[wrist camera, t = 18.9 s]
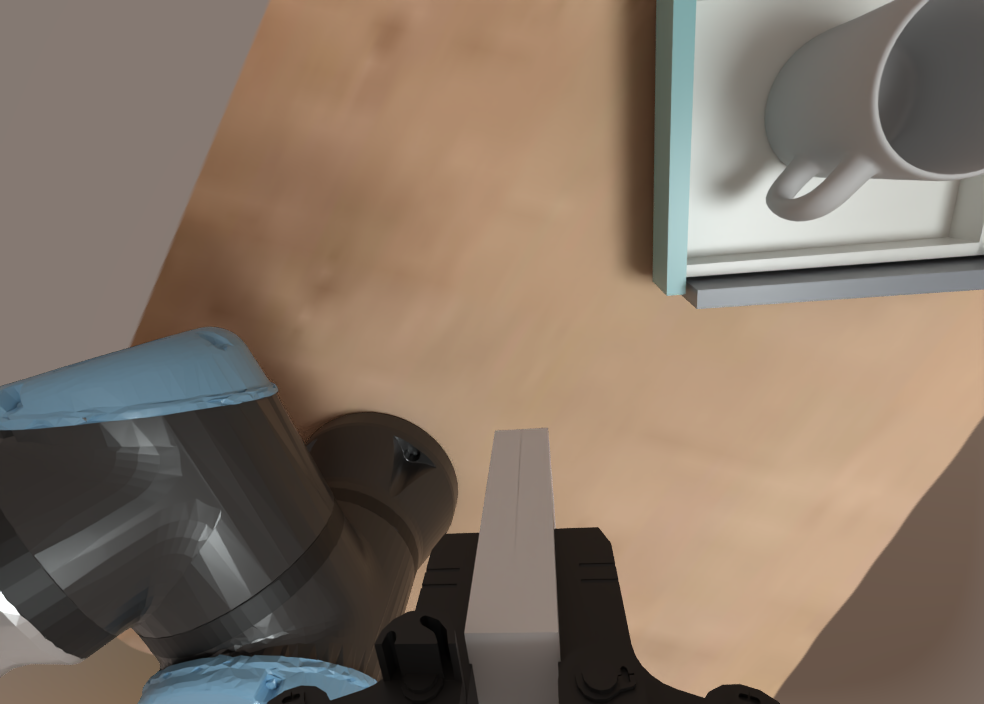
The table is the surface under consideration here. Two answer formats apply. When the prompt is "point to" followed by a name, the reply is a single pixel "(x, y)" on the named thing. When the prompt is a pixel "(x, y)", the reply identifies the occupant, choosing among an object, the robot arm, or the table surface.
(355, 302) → the table surface
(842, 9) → the tray
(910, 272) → the dock
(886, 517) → the table surface
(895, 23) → the mug
